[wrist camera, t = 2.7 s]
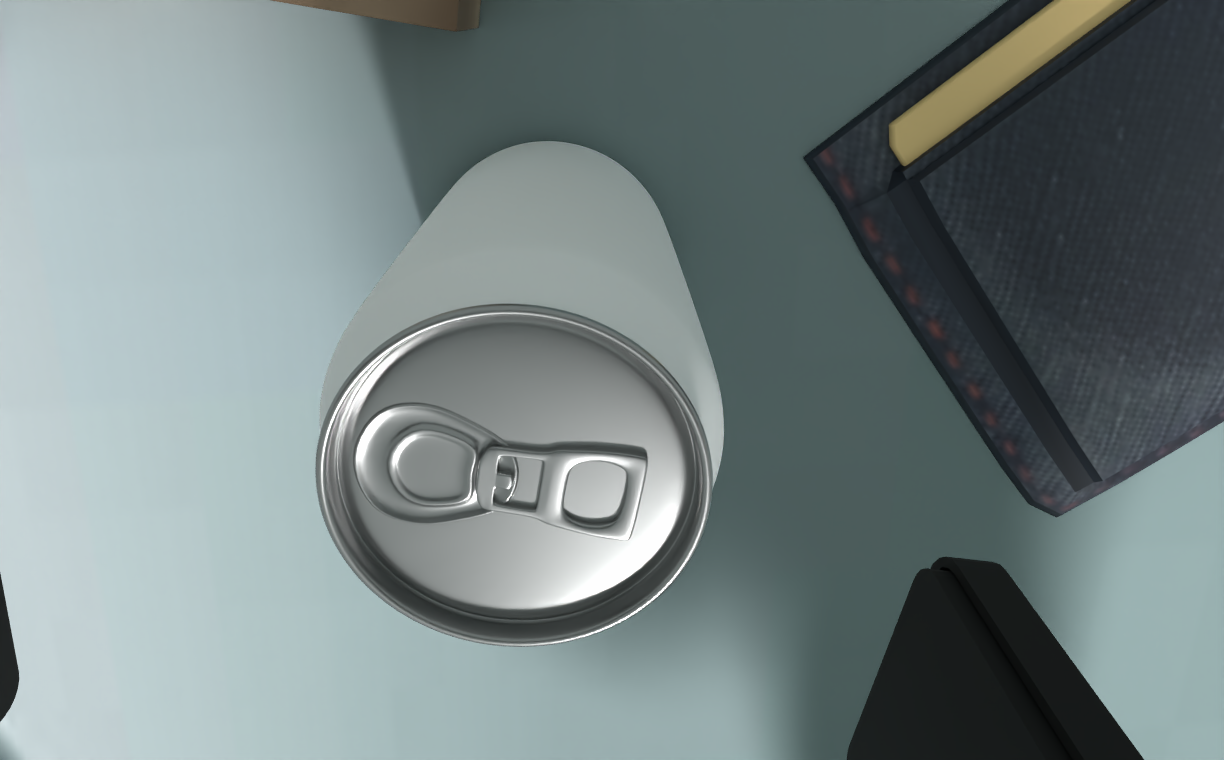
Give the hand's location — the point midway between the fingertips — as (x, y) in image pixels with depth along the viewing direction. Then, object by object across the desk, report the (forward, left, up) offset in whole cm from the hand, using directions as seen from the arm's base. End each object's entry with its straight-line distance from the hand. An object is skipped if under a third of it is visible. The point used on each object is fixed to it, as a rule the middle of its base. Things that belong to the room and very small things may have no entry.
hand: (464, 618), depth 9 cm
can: (0, 0, -15) cm, 15 cm away
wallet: (-18, -5, -16) cm, 25 cm away
